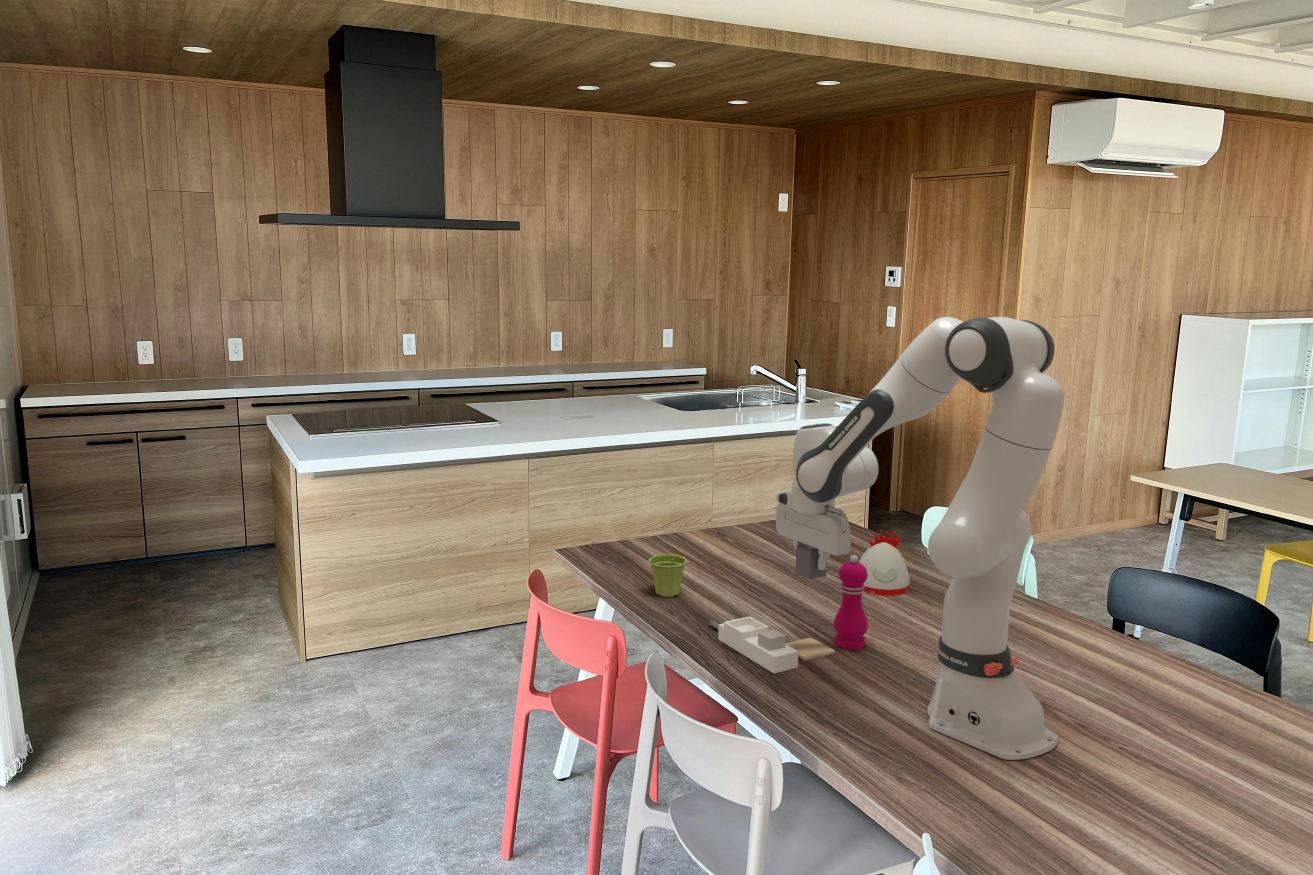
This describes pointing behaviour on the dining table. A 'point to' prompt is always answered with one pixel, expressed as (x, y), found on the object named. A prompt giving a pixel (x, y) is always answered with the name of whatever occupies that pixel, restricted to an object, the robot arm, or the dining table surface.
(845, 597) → the pepper mill
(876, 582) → the kitchen timer
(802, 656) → the coaster
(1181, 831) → the dining table surface
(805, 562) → the block
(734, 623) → the power strip
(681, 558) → the plant pot
